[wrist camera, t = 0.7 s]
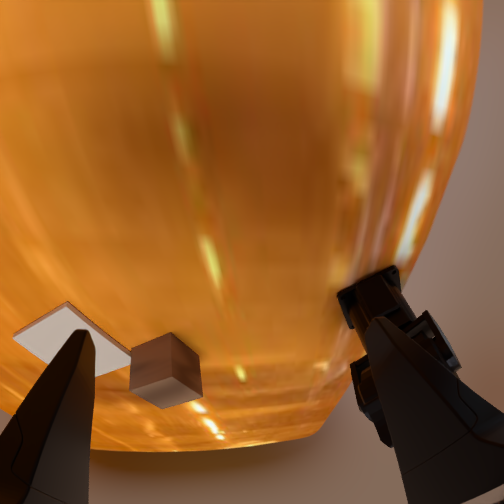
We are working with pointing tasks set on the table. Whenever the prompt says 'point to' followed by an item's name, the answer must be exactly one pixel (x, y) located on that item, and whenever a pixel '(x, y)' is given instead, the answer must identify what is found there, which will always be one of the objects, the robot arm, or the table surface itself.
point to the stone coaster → (59, 330)
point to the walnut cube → (165, 372)
